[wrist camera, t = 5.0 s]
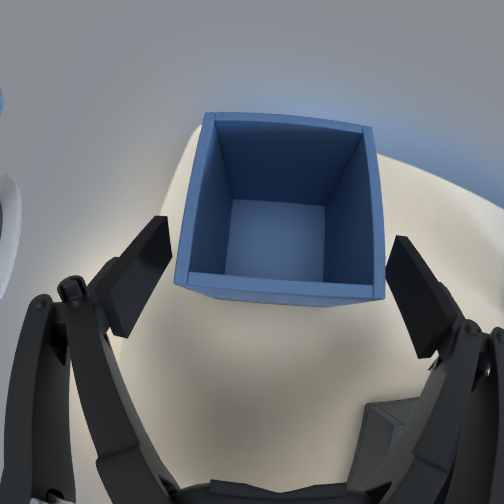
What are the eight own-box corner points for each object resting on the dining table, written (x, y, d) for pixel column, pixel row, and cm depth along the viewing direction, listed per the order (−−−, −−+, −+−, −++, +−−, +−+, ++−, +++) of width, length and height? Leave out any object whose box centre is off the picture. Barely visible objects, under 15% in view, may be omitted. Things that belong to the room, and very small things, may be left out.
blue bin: (216, 299, 22) (172, 284, 11) (227, 195, 24) (204, 112, 13) (327, 307, 21) (385, 299, 10) (329, 203, 23) (372, 126, 12)
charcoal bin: (335, 514, 16) (348, 546, 10) (365, 403, 19) (394, 426, 13) (442, 486, 15) (466, 505, 10) (475, 384, 18) (510, 391, 13)
